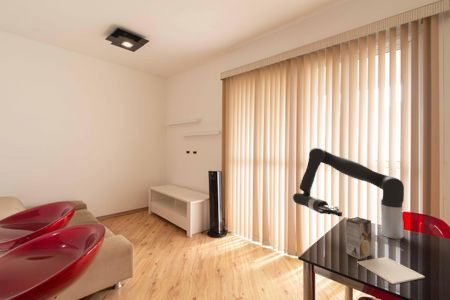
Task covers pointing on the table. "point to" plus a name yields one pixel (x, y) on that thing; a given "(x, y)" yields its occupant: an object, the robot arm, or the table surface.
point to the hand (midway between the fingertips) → (340, 214)
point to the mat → (390, 270)
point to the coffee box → (358, 237)
